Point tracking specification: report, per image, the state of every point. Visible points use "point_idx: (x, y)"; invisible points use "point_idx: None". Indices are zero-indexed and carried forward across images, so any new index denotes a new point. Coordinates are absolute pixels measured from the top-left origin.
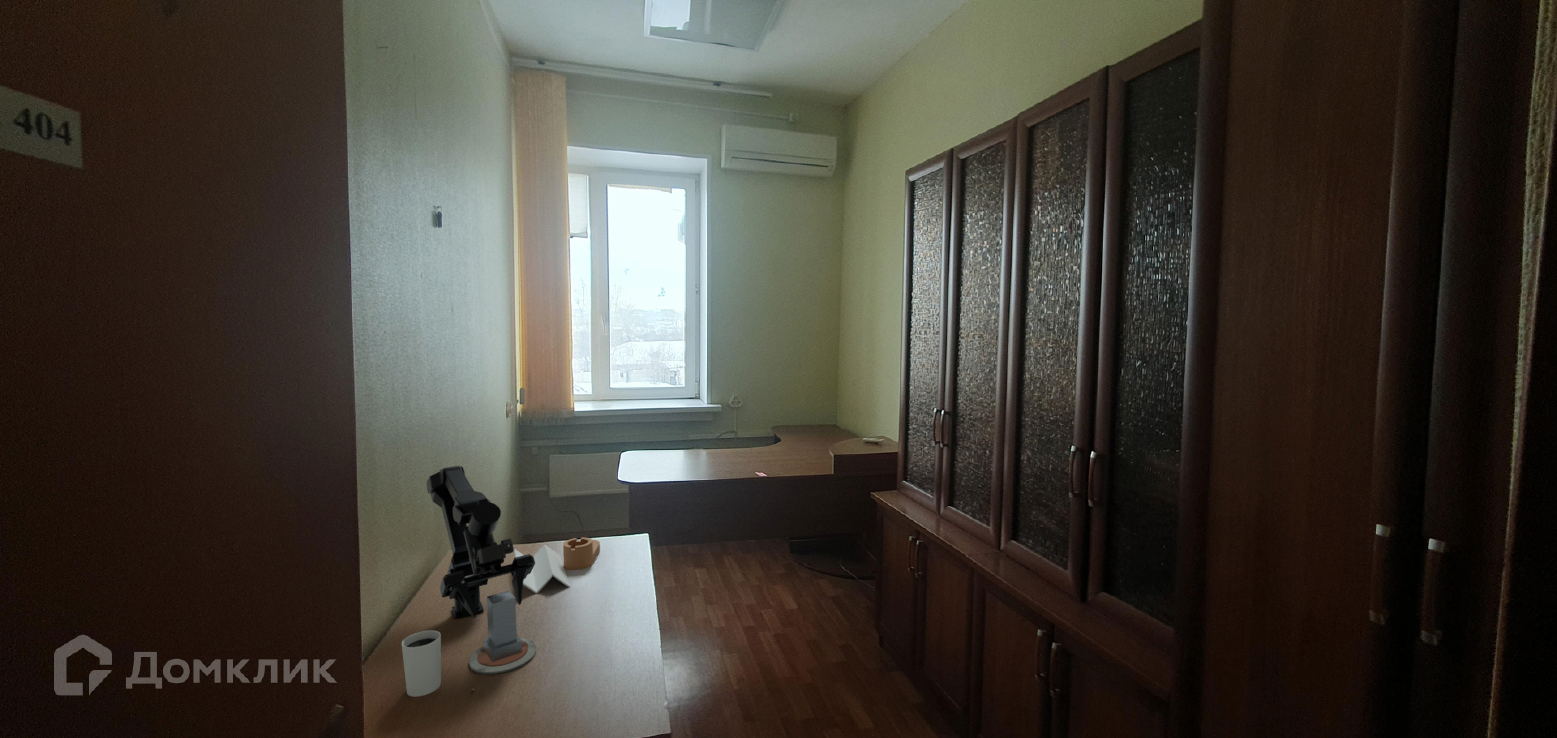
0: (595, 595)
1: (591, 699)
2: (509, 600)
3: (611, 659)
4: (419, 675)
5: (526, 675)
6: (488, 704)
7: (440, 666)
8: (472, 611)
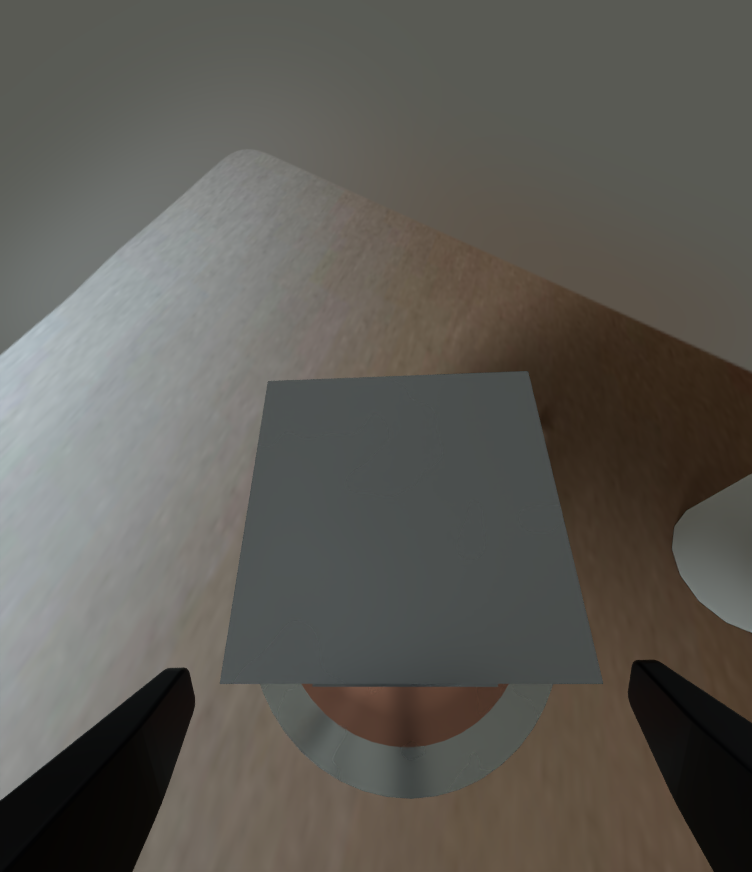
0: None
1: (283, 234)
2: (336, 387)
3: (134, 341)
4: None
5: None
6: (504, 334)
7: (726, 523)
8: (714, 703)
